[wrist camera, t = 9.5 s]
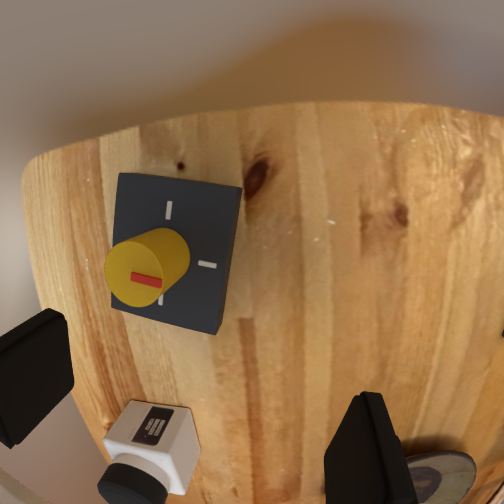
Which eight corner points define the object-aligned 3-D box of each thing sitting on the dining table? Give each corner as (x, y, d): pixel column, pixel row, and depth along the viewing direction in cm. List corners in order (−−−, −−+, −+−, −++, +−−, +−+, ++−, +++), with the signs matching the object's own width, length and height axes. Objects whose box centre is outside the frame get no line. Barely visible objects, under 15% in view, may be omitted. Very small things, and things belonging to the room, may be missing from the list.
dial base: (132, 172, 25) (117, 172, 23) (242, 187, 25) (237, 188, 22) (123, 298, 28) (110, 308, 26) (222, 323, 27) (215, 336, 25)
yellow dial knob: (138, 274, 25) (101, 299, 19) (142, 223, 24) (102, 235, 18) (187, 287, 24) (158, 316, 19) (193, 233, 23) (164, 249, 18)
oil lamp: (320, 527, 35) (320, 561, 27) (323, 416, 29) (328, 470, 21) (442, 502, 32) (451, 532, 24) (499, 376, 25) (529, 412, 18)
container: (130, 398, 31) (76, 473, 19) (191, 407, 30) (149, 497, 18) (146, 441, 33) (106, 513, 20) (202, 450, 32) (172, 533, 19)
